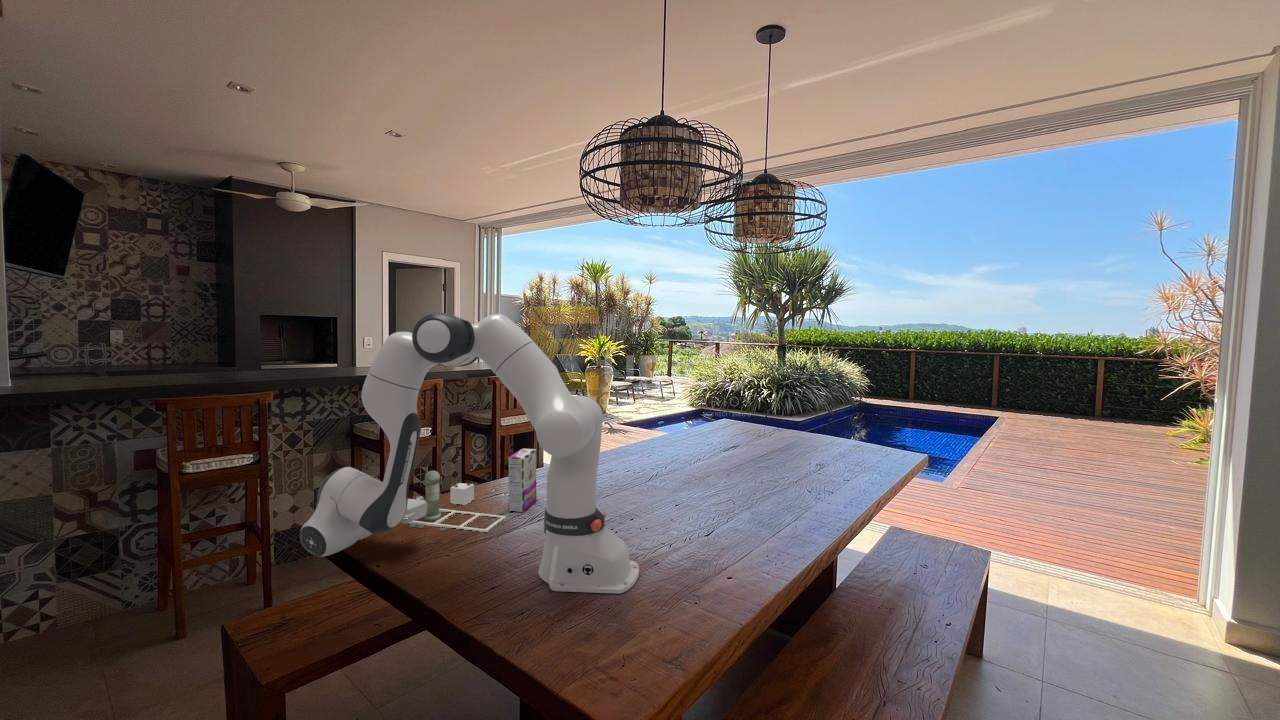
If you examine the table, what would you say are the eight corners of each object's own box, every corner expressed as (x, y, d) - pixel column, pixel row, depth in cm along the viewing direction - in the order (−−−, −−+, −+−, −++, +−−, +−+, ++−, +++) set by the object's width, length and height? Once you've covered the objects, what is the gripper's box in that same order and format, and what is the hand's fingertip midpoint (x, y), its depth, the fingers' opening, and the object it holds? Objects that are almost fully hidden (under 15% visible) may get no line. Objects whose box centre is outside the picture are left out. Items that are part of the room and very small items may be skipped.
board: (506, 518, 153) (506, 516, 153) (481, 536, 140) (481, 534, 140) (431, 509, 159) (431, 507, 159) (400, 526, 146) (400, 524, 146)
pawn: (444, 515, 154) (443, 469, 153) (434, 521, 150) (434, 473, 149) (430, 514, 155) (430, 467, 154) (420, 519, 151) (420, 472, 150)
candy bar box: (521, 499, 169) (521, 447, 168) (536, 500, 168) (537, 448, 167) (507, 511, 158) (507, 456, 157) (523, 513, 157) (523, 457, 156)
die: (474, 500, 168) (474, 482, 167) (465, 505, 163) (465, 487, 162) (459, 498, 169) (459, 481, 168) (450, 503, 164) (450, 485, 164)
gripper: (405, 507, 124) (440, 489, 138) (330, 498, 129) (371, 481, 143) (405, 534, 125) (440, 513, 138) (330, 524, 130) (372, 505, 143)
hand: (405, 497), depth 140 cm, fingers open, 8 cm apart
